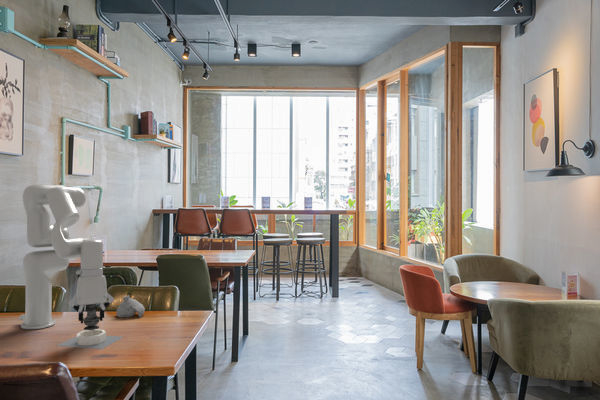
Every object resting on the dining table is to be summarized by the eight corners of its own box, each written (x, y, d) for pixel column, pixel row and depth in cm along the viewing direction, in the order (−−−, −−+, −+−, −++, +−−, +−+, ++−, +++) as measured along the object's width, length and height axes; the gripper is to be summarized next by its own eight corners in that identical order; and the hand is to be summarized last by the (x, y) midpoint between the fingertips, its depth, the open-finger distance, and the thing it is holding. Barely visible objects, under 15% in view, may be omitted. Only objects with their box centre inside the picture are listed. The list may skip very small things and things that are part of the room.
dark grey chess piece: (86, 326, 166) (86, 294, 166) (102, 325, 167) (102, 294, 167) (80, 330, 161) (80, 297, 160) (96, 330, 161) (96, 297, 161)
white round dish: (71, 344, 160) (71, 336, 160) (88, 336, 169) (88, 328, 169) (94, 346, 159) (94, 337, 159) (110, 338, 168) (110, 330, 168)
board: (56, 348, 159) (56, 345, 159) (82, 336, 172) (82, 333, 172) (101, 352, 156) (101, 349, 156) (124, 340, 169) (124, 336, 169)
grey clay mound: (120, 325, 197) (112, 303, 196) (118, 319, 208) (111, 298, 207) (147, 315, 202) (140, 293, 201) (144, 309, 213) (137, 288, 211)
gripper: (65, 276, 156) (65, 327, 156) (118, 272, 165) (117, 320, 165) (65, 273, 163) (64, 322, 163) (115, 269, 171) (115, 316, 171)
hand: (91, 320), depth 164 cm, fingers closed on dark grey chess piece, 5 cm apart
